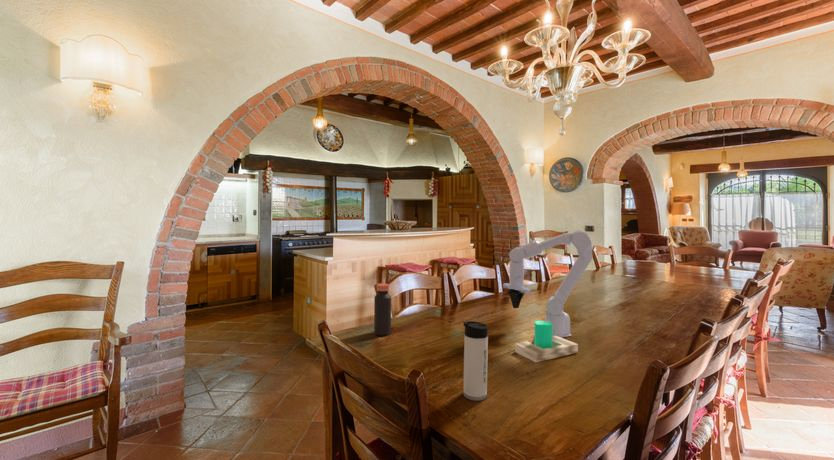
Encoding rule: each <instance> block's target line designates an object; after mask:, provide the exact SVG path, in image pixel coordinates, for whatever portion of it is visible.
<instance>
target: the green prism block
mask: <svg viewBox="0 0 834 460" xmlns="http://www.w3.org/2000/svg"><path fill="white" fill-rule="evenodd" d="M552 330H553V324H552V323H550V322H548V321H546V320H540V319H539V320H535V322H534V336H533V338H534V345H536V346H538V347H540V348H543V349H545V348H550V347H552Z"/></svg>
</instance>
